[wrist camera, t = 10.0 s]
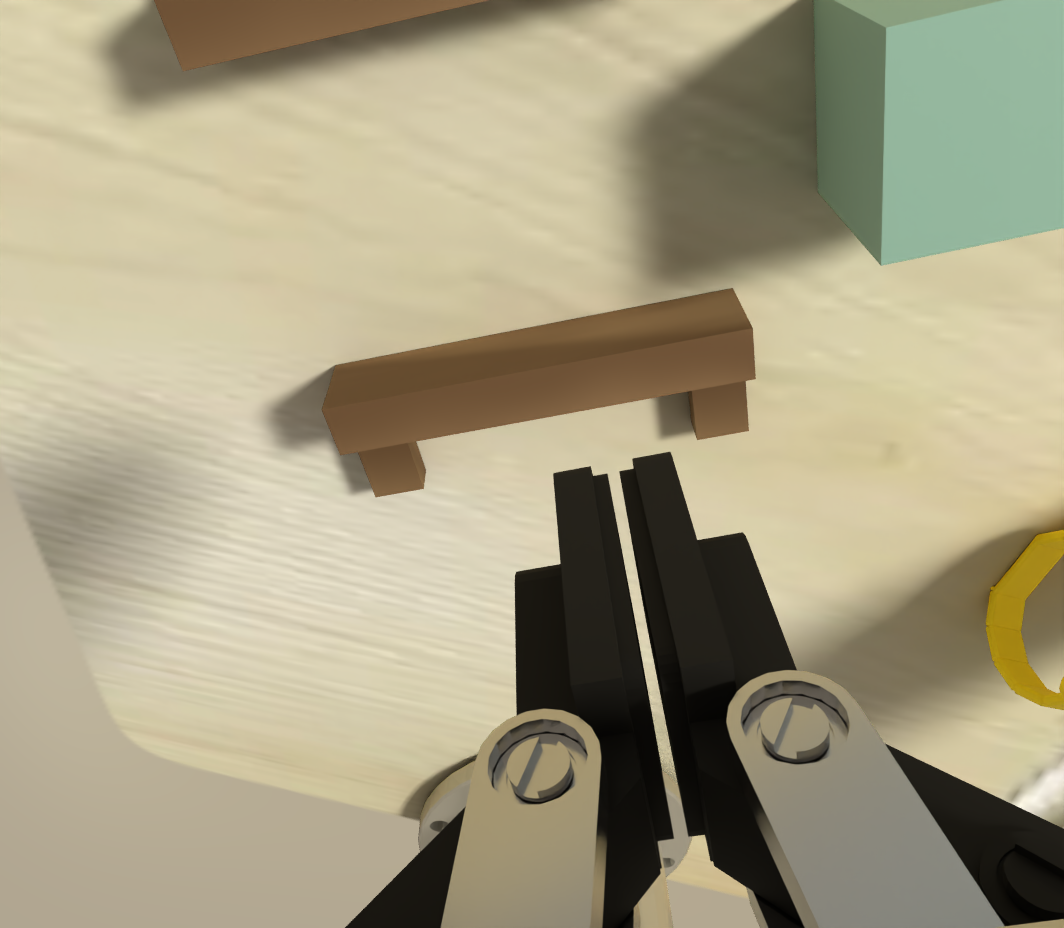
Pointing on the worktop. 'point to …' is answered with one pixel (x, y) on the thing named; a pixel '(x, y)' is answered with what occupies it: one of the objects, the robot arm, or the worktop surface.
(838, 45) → the block
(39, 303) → the worktop surface
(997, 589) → the watch
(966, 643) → the worktop surface
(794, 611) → the worktop surface
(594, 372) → the wooden brackets
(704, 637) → the robot arm
